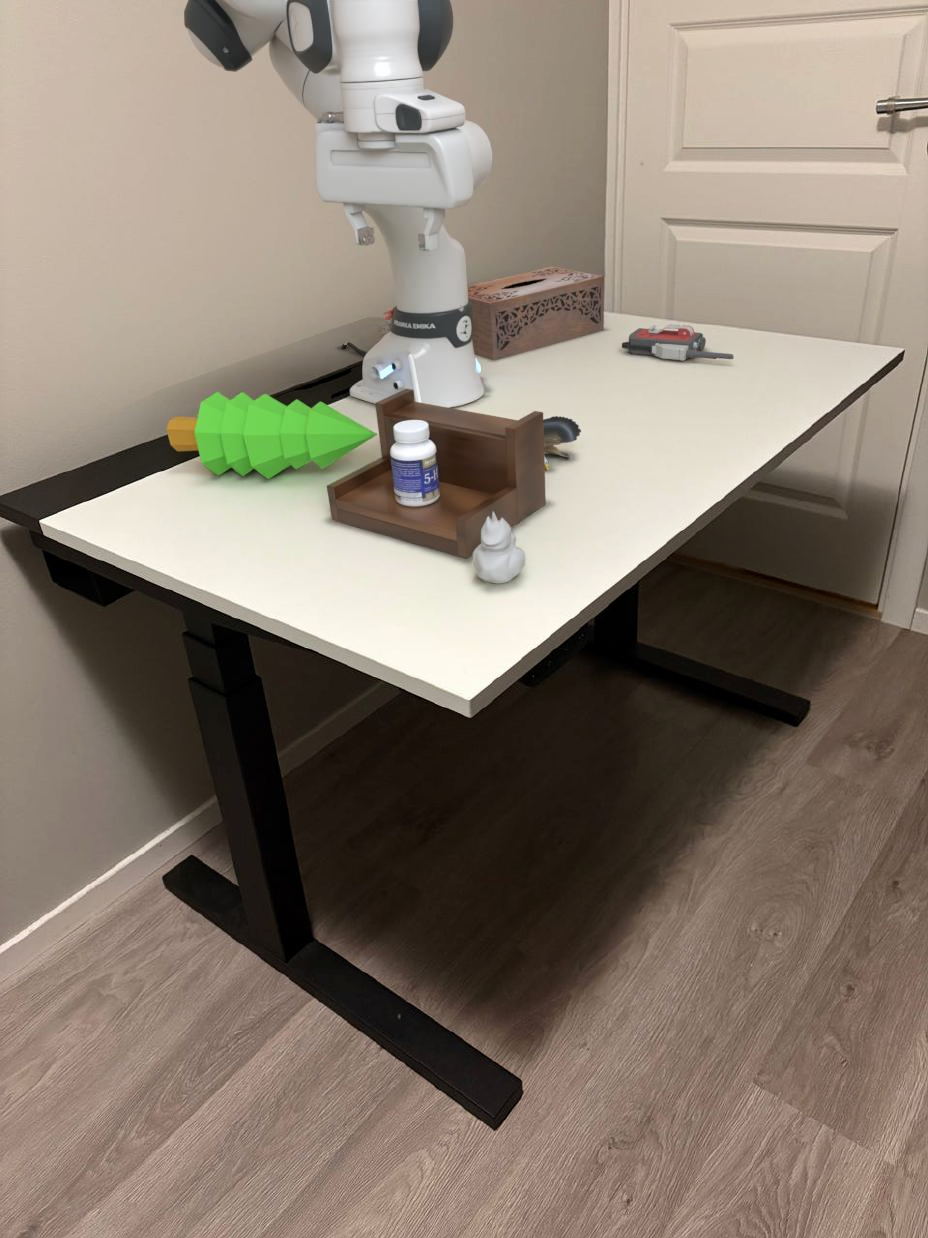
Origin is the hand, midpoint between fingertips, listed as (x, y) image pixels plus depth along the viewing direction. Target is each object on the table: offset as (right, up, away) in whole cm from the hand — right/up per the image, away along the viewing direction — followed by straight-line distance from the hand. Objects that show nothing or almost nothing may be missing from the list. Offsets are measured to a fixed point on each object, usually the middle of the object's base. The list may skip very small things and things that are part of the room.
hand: (396, 247), depth 109 cm
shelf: (+5, -30, +6) cm, 31 cm away
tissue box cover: (+19, +10, +69) cm, 73 cm away
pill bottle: (+2, -29, +2) cm, 29 cm away
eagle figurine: (+18, -23, +16) cm, 33 cm away
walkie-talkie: (+45, +2, +53) cm, 70 cm away
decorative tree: (-18, -23, +20) cm, 35 cm away
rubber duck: (+12, -38, -9) cm, 41 cm away
